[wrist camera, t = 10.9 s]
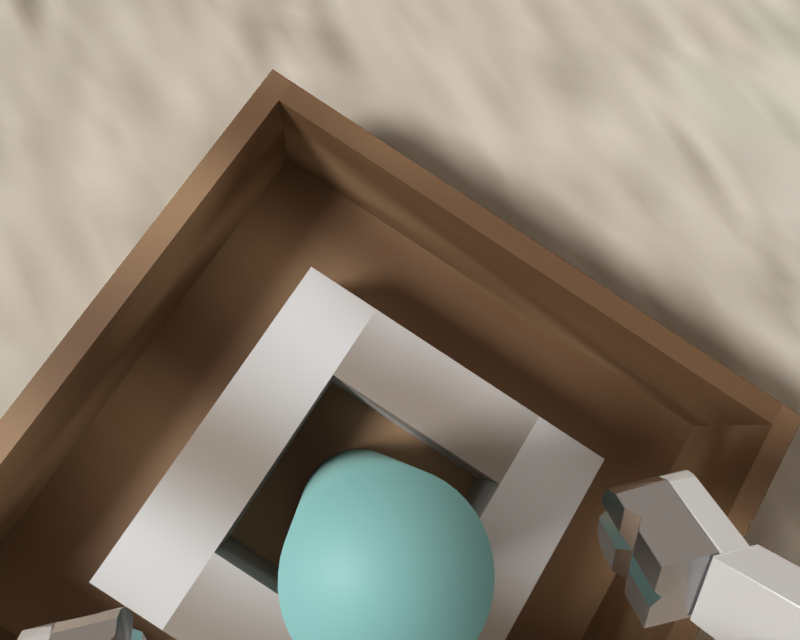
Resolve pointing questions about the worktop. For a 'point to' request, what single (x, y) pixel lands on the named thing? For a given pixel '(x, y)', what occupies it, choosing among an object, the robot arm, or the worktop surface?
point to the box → (349, 396)
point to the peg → (384, 556)
